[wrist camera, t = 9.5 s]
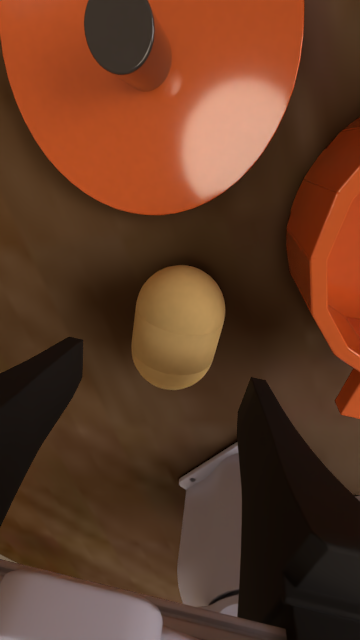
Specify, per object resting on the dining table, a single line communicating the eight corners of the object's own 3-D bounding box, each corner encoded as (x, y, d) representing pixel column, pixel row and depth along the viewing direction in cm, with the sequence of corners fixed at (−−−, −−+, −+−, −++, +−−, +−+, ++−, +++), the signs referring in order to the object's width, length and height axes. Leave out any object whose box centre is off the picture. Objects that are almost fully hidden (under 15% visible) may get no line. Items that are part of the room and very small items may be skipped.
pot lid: (25, 186, 16) (-38, 198, 12) (-2, -195, 10) (-139, -402, 6) (249, 232, 16) (256, 259, 12) (353, -134, 10) (434, -315, 6)
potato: (207, 364, 20) (202, 416, 16) (138, 348, 20) (117, 397, 16) (234, 263, 17) (237, 298, 13) (152, 245, 17) (129, 275, 13)
